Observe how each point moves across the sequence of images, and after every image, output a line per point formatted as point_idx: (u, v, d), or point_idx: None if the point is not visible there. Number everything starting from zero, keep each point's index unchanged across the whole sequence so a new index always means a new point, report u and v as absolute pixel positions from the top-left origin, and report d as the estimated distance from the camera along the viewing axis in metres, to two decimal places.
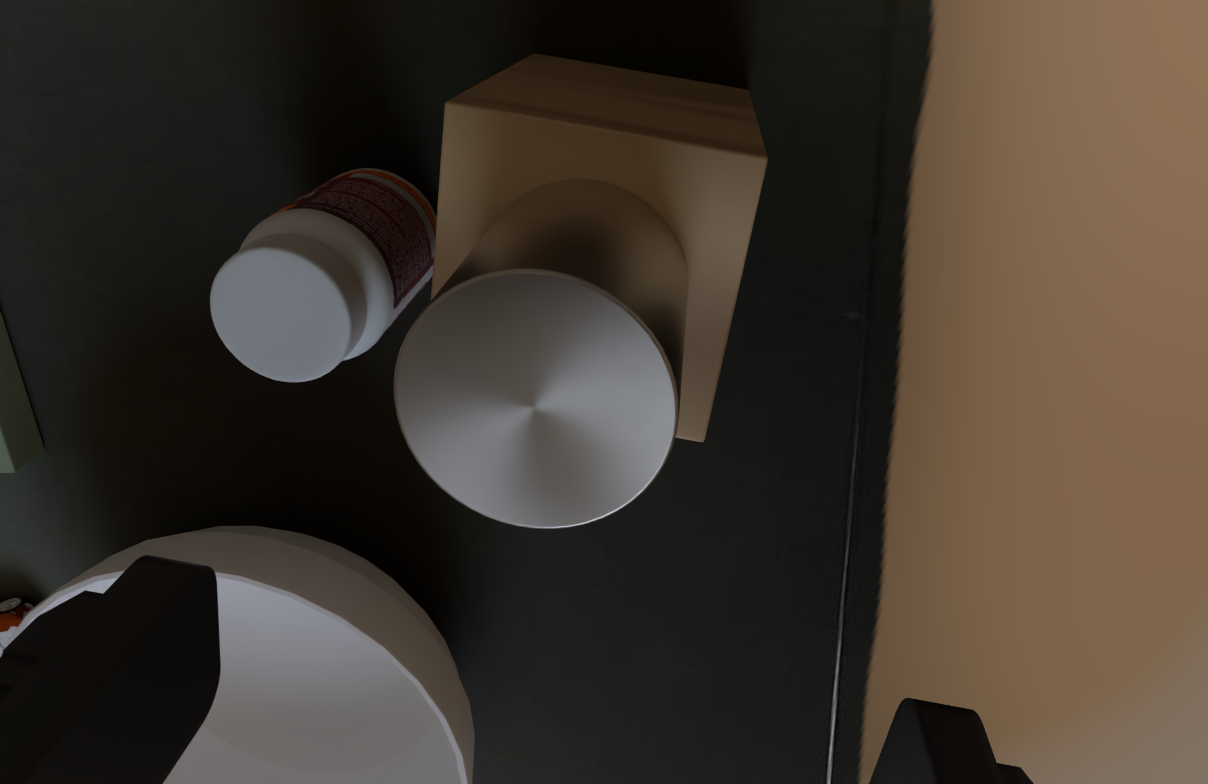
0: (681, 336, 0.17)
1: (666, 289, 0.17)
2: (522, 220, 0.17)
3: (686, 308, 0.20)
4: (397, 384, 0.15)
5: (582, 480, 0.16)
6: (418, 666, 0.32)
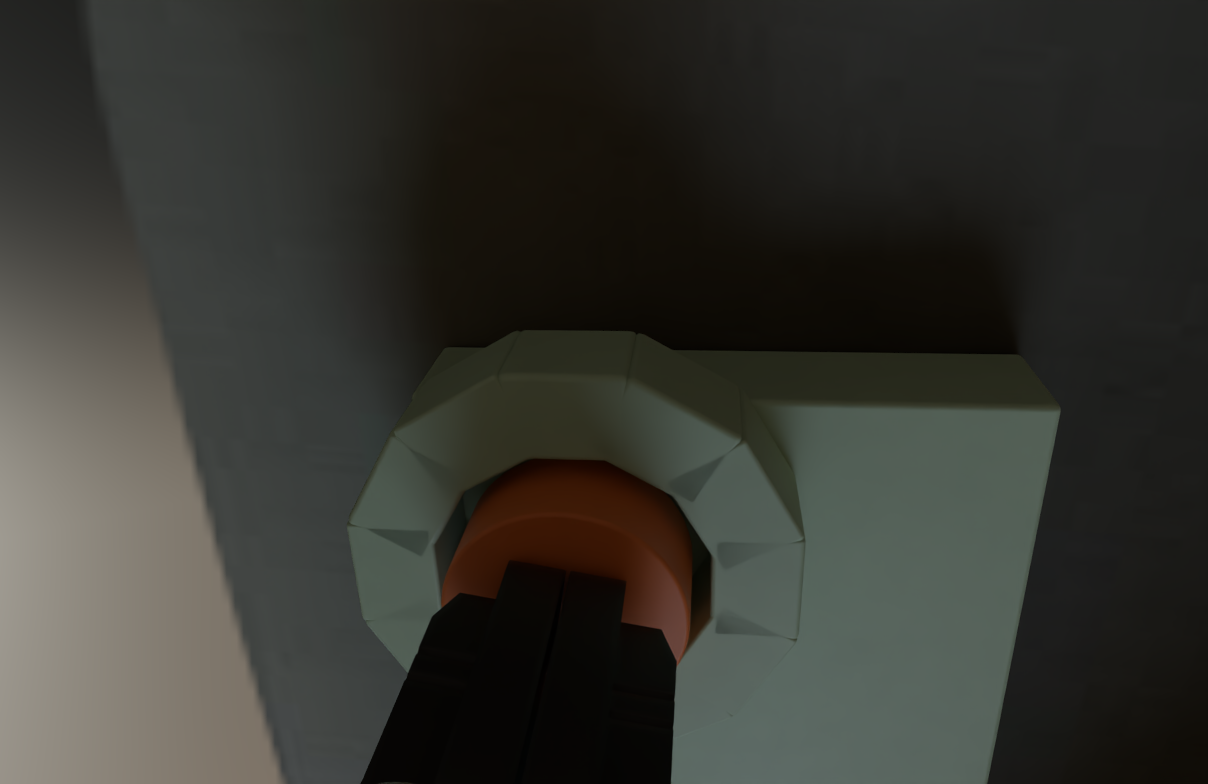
0: None
1: None
2: None
3: None
4: None
5: None
6: None
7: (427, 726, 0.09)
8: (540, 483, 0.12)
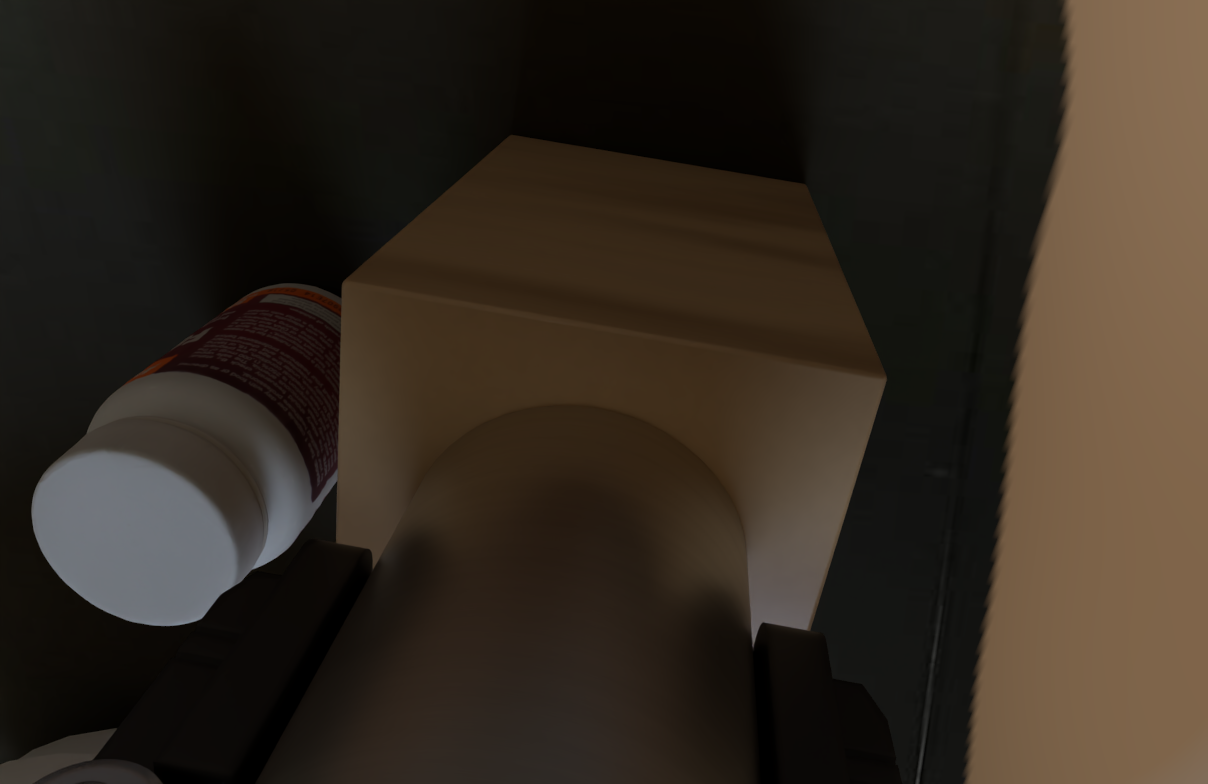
0: (759, 778, 0.09)
1: (731, 694, 0.09)
2: (459, 545, 0.09)
3: None
4: None
5: None
6: None
7: (181, 703, 0.09)
8: None
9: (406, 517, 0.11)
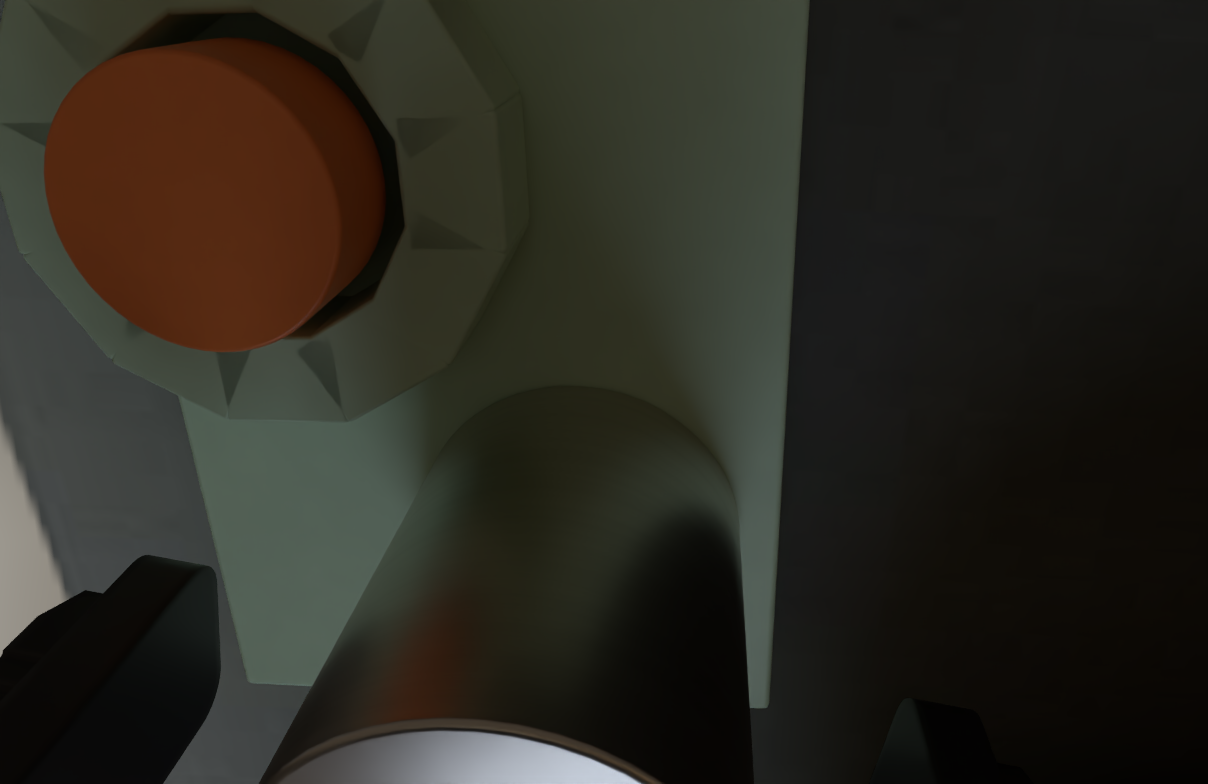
0: (748, 715, 0.10)
1: (723, 638, 0.10)
2: (477, 507, 0.10)
3: None
4: None
5: None
6: None
7: None
8: None
9: (424, 487, 0.12)
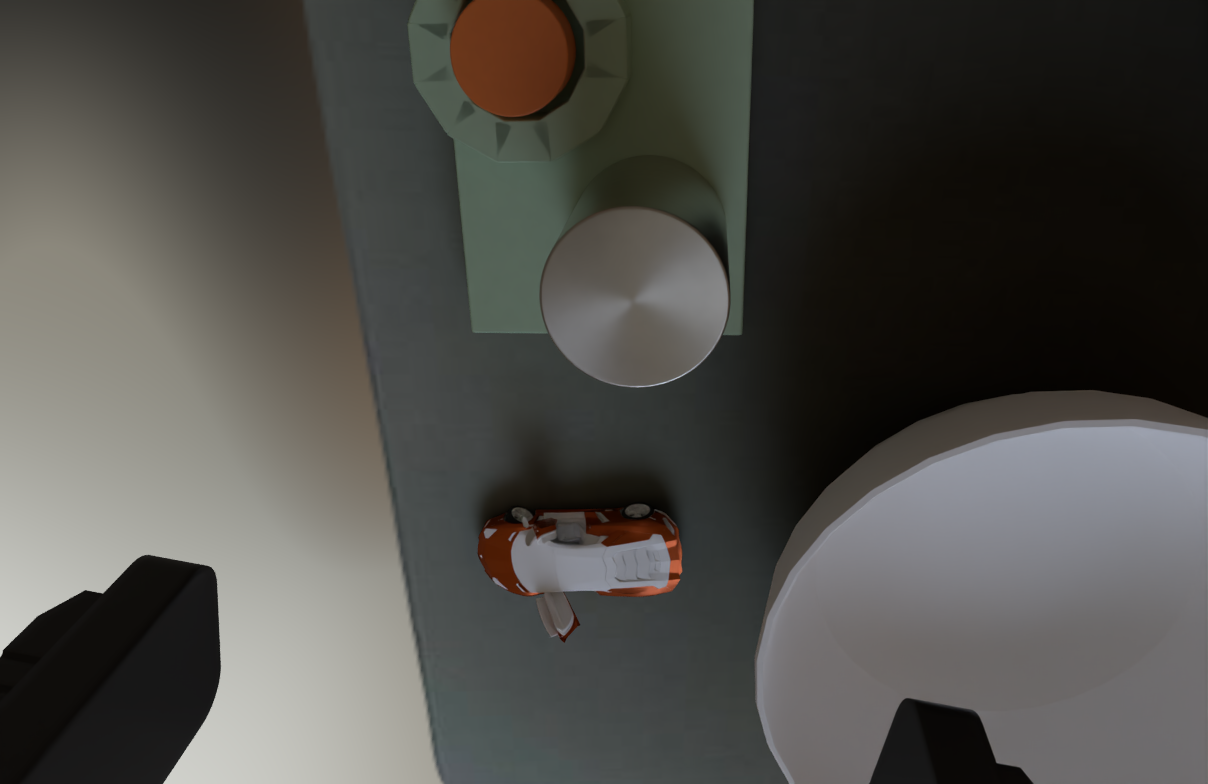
0: None
1: (717, 226, 0.25)
2: (616, 180, 0.25)
3: None
4: (542, 286, 0.23)
5: (664, 351, 0.24)
6: None
7: None
8: None
9: (584, 193, 0.27)
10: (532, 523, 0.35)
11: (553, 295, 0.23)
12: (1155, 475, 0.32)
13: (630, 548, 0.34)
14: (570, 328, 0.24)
